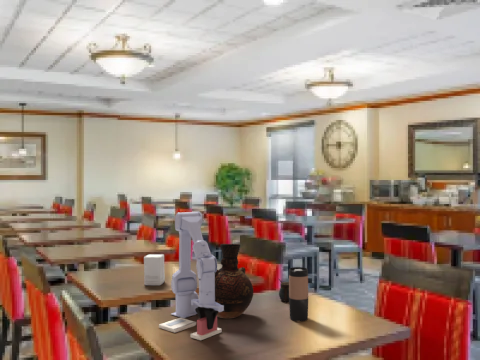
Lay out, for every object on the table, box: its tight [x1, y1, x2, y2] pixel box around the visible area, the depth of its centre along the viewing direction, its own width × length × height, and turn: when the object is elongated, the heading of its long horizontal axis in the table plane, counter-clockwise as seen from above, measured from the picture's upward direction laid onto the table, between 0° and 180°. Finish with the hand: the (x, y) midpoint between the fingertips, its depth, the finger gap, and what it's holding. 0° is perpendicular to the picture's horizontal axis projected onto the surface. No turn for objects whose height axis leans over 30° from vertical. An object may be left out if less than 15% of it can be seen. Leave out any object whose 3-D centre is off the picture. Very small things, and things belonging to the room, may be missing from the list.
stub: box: [190, 316, 223, 341], centre depth 169 cm, size 11×5×6 cm, turn 140°
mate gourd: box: [278, 278, 289, 303], centre depth 214 cm, size 7×8×10 cm
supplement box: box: [143, 254, 166, 286], centre depth 249 cm, size 9×9×15 cm
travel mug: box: [288, 266, 309, 322], centre depth 187 cm, size 8×8×20 cm
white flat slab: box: [158, 317, 197, 333], centre depth 178 cm, size 11×9×1 cm
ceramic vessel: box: [214, 243, 254, 320], centre depth 191 cm, size 21×18×30 cm
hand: (207, 327), depth 168 cm, fingers closed on stub, 2 cm apart
